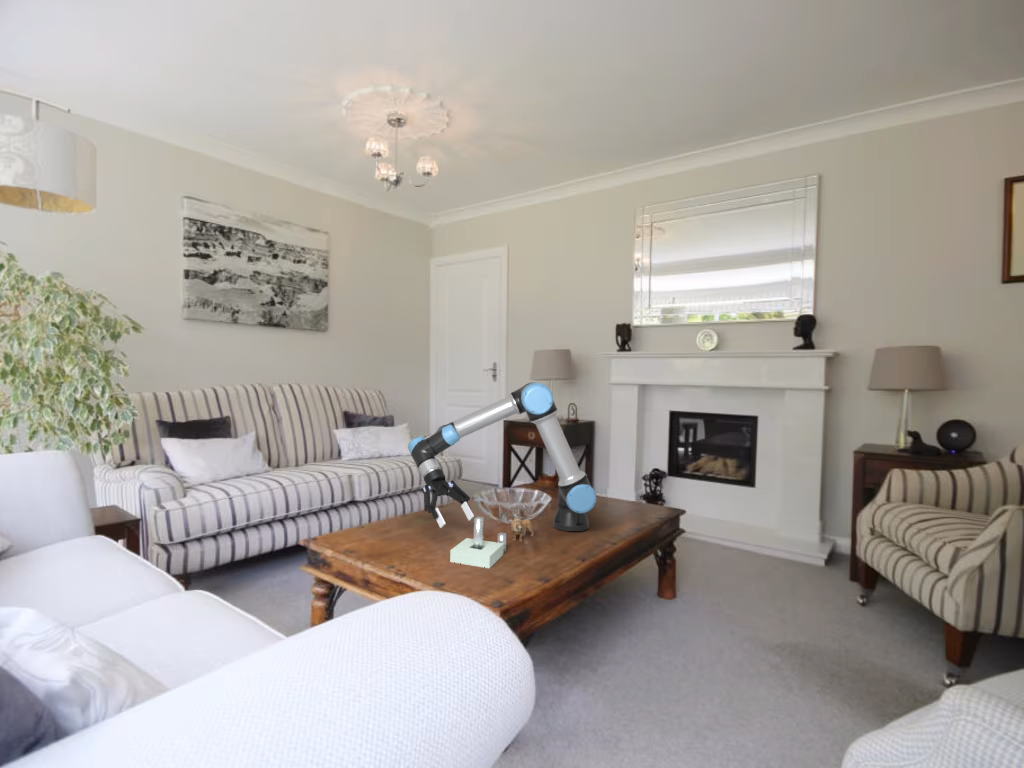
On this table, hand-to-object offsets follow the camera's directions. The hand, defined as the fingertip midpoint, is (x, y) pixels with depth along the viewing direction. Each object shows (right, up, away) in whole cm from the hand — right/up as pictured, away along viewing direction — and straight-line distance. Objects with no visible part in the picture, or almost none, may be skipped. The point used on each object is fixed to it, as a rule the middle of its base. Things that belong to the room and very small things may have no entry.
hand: (457, 522), depth 190 cm
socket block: (+8, -10, -8) cm, 15 cm away
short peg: (+16, -10, +1) cm, 19 cm away
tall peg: (+8, -10, -8) cm, 15 cm away
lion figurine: (+23, -10, +15) cm, 30 cm away
